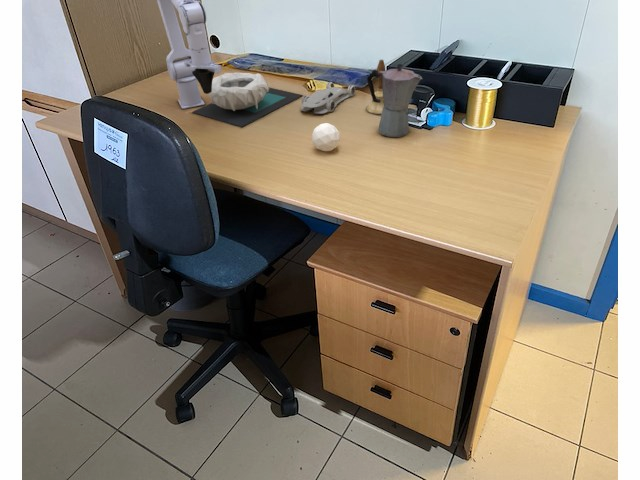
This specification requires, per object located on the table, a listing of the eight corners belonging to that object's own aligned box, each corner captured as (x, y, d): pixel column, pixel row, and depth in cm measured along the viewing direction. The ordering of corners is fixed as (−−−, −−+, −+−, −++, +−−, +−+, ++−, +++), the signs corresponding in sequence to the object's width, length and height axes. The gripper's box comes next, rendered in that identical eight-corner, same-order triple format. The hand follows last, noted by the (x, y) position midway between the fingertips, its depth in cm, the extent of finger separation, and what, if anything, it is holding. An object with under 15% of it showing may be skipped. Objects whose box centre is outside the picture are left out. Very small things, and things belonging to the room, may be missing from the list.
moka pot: (417, 139, 139) (422, 70, 127) (364, 137, 142) (364, 69, 130) (418, 125, 146) (423, 58, 134) (368, 124, 149) (368, 58, 137)
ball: (333, 156, 139) (349, 135, 135) (319, 158, 133) (336, 136, 129) (316, 138, 141) (331, 117, 137) (301, 139, 134) (317, 117, 130)
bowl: (199, 116, 160) (193, 87, 154) (226, 94, 176) (221, 67, 170) (256, 121, 155) (252, 90, 149) (278, 97, 170) (275, 69, 164)
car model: (357, 93, 170) (357, 79, 167) (321, 119, 154) (320, 104, 151) (330, 89, 175) (330, 75, 172) (293, 113, 159) (292, 98, 156)
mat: (242, 127, 153) (241, 126, 152) (192, 113, 165) (192, 111, 165) (302, 96, 172) (302, 95, 171) (254, 85, 184) (253, 84, 184)
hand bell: (392, 104, 161) (393, 55, 151) (392, 114, 154) (394, 63, 145) (367, 104, 162) (367, 56, 152) (366, 114, 155) (366, 64, 146)
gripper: (172, 48, 143) (182, 92, 151) (205, 54, 136) (214, 100, 144) (190, 42, 148) (199, 85, 156) (223, 48, 140) (231, 93, 149)
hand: (207, 92), depth 150 cm, fingers closed
